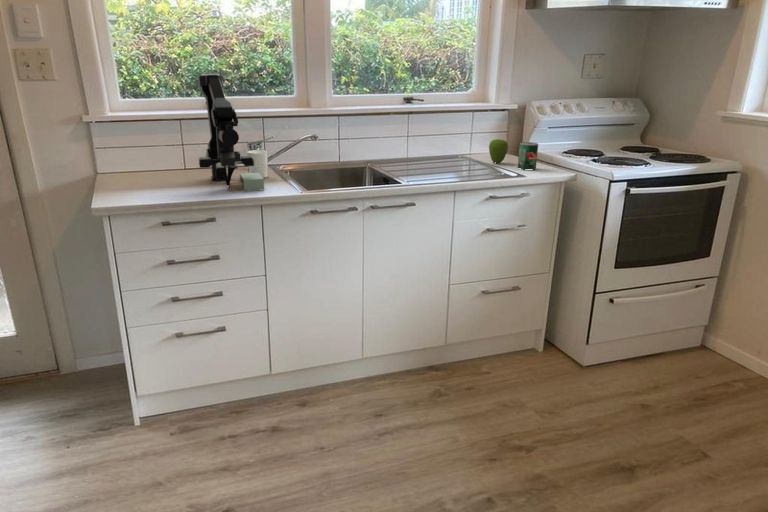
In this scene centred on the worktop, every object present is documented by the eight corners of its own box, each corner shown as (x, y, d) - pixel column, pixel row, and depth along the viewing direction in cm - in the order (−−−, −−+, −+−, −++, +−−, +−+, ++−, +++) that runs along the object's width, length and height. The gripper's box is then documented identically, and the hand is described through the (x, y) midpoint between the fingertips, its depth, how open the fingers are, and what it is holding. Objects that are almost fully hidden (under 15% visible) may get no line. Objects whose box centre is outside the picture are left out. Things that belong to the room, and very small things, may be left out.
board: (228, 186, 216) (228, 181, 216) (256, 184, 220) (255, 179, 219) (230, 190, 210) (230, 185, 210) (258, 188, 213) (258, 183, 213)
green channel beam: (240, 184, 220) (239, 173, 218) (259, 183, 222) (258, 172, 221) (244, 191, 209) (243, 179, 208) (264, 189, 211) (263, 178, 210)
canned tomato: (532, 171, 251) (535, 145, 248) (515, 169, 255) (517, 143, 251) (538, 168, 258) (540, 143, 254) (520, 166, 262) (522, 141, 258)
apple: (506, 165, 263) (508, 139, 259) (487, 164, 265) (489, 138, 261) (507, 162, 271) (509, 137, 267) (488, 161, 273) (490, 136, 269)
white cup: (247, 175, 235) (245, 150, 232) (266, 174, 238) (265, 149, 235) (250, 179, 228) (248, 153, 225) (270, 178, 231) (269, 152, 228)
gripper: (198, 145, 197) (202, 191, 202) (255, 144, 203) (257, 188, 208) (197, 141, 207) (200, 184, 212) (250, 140, 213) (252, 182, 218)
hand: (227, 185), depth 212 cm, fingers closed
